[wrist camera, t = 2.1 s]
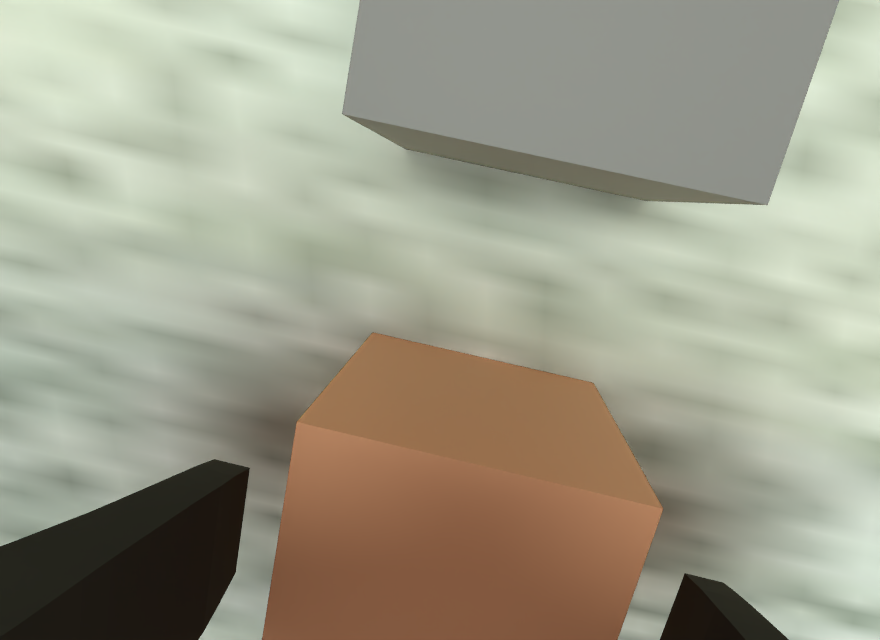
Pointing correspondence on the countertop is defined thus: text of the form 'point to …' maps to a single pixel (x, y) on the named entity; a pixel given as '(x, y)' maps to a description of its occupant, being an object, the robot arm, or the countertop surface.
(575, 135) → the slate block
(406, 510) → the terracotta block
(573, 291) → the countertop surface
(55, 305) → the countertop surface
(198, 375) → the countertop surface
